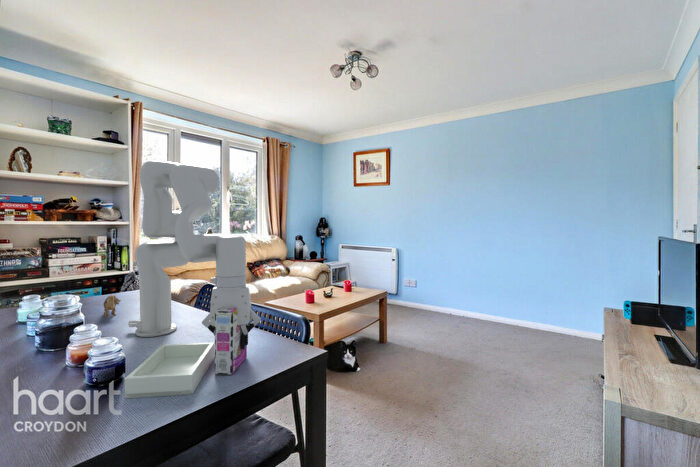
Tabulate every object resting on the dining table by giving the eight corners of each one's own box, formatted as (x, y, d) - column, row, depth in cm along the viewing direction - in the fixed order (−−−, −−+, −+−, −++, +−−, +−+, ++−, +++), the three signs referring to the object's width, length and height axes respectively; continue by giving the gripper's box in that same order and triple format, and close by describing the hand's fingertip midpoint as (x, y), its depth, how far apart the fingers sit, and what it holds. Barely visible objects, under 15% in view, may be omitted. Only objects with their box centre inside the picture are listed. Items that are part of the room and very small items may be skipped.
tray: (125, 398, 74) (124, 378, 74) (162, 360, 94) (162, 344, 94) (192, 394, 76) (191, 374, 76) (214, 357, 96) (214, 342, 96)
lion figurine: (121, 317, 135) (121, 295, 134) (105, 319, 131) (104, 297, 131) (114, 309, 145) (114, 289, 145) (99, 312, 142) (99, 291, 141)
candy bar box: (233, 375, 85) (232, 311, 84) (214, 375, 85) (213, 311, 85) (248, 357, 96) (247, 301, 96) (231, 357, 96) (230, 300, 96)
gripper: (192, 285, 85) (194, 355, 86) (262, 283, 87) (262, 352, 88) (201, 279, 92) (202, 344, 93) (265, 278, 95) (266, 341, 95)
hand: (232, 347), depth 91 cm, fingers closed on candy bar box, 5 cm apart
